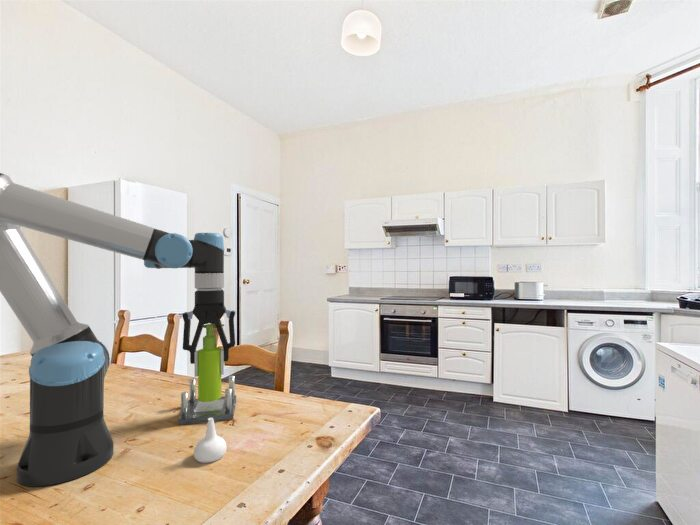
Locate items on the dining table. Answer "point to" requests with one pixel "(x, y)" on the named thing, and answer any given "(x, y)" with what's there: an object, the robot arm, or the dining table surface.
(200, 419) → the display stand
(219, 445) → the garlic bulb
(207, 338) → the soap dispenser
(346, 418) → the dining table surface
